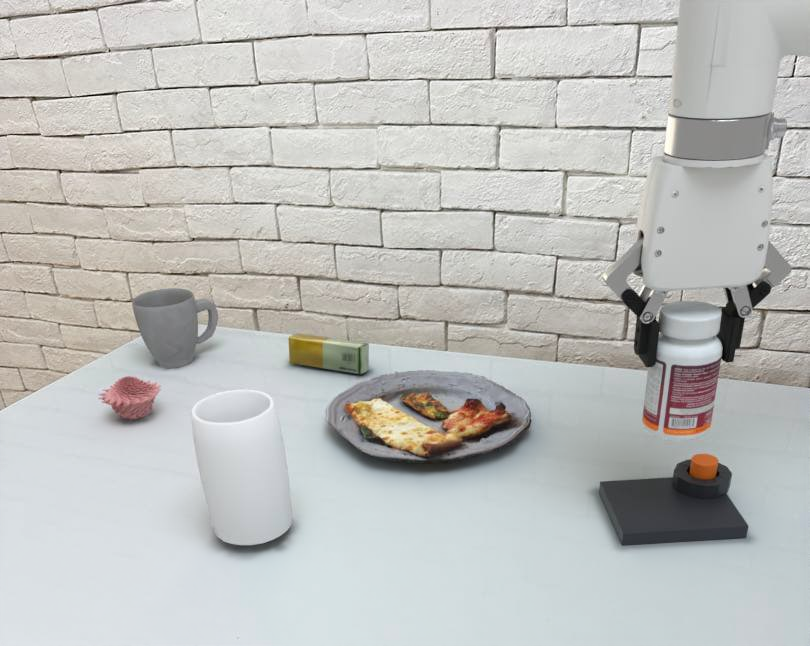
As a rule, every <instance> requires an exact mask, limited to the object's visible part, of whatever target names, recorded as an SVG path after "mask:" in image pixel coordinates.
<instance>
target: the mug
mask: <svg viewBox="0 0 810 646" xmlns="http://www.w3.org/2000/svg"><path fill="white" fill-rule="evenodd" d="M131 305H132V311H133V314H134V318H135V322H136V325H137V328H138V331H139V334H140V337H141V339H142V340H143V342H144V344H145V346H146V348H147V349H148V351H149V352H150V354H151V355H152V357H153V358H154V359H155V361H156V363H157V365H158V366H159V367H161V368H164V369H165V368H166V369H177V368H181V367H185V366H187V365H190V364H192V362H194V360H195V352H196V349H197V345H199V344H202V343H204V342H206V341H208V340H209V339H210V338H212V337H213V336H214V334H215V332H216V329H217V325H218V322H219V314H218V313H219V312H218V309H217V306H216V305H215V304H214V302H213V301H212V300H210V299H208V298H201V299H197V300H196V298H195V294H194V293H193V292H192V291H190V290H189V289H185V288H173V287H172V288H159V289H154V290H150V291H147V292H144V293H141V294H139V295H137V296H135V297H134V298H133V299H132V301H131ZM206 310H207V314H208V320H207V326H206V328H205V330H204V332H203V333H202V334H201V335H199V320H198V319H199V318H198V313H201V312H204V311H206Z"/></svg>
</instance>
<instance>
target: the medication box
mask: <svg viewBox="0 0 810 646" xmlns="http://www.w3.org/2000/svg"><path fill="white" fill-rule="evenodd" d="M287 340H288V354H289V358H288V359H289V363H290V364H293V365H300V366H304V367H305V366H307V367H313V368H319V369H324V370H331V371H336V372H337V371H338V372H345V373H350V374H355V375H359V376H362V375H364V374H366V373H368V372H369V371H370V344H369V342H363V341H356V340H350V339H349V340H348V339H341V338H334V337H328V336H327V337H326V336H320V335H312V334H305V333H299V332H298V333H295V334H293V335H290V336H288V338H287Z"/></svg>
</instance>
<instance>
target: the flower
mask: <svg viewBox="0 0 810 646" xmlns="http://www.w3.org/2000/svg"><path fill="white" fill-rule="evenodd" d="M157 384H158V382H157V381H156V382H152V383H151V379H148V380H147V381H144V379H140V378H138V377H137V376H130V375H127V376H123V377H121V378H118V380H117V381H115V382H114V383H113V385H110V386H109V387H110V388H107V389H102V391H103V392H102V393H98V396H100V397H98V400H102V401H101V404H106V405H108V406H111V409H112V410H113V411H114V413H115V414H119V417H122V419H129V420H130V421H132V420H141V418H145V416H147V415H149V414H150V412H151V410H153V404H155V399H156V397H157V396H158V395H159V392H161V391H162V389H161V388H162V385H157ZM101 396H102V397H101Z"/></svg>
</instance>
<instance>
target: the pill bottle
mask: <svg viewBox="0 0 810 646" xmlns="http://www.w3.org/2000/svg"><path fill="white" fill-rule="evenodd" d="M721 310H722V308H720V307H719V306H717V305H716V304H712V303H709V302H705V301H701V300H699V301H698V300H677V301H672V302H668V303H665V304H662V305H661V307H660V309H659V314H658V320H657V322H658V323H659V324H660V330H659V338H658V347H657V355H656V363H655V365H653V367H647V373H646V374H647V375H646V383H645V392H644V400H643V410H642V421H641V422H642V426H643V428H644V429H645V431H646V432H647V433H648V434H650V435H652V436H654V437H656V438H659V439H661V440H664V441H670V442H686V441H694V440H697V439H700V438H702V437H704V436H705V435H706V434H707V433H709V431H710V430H711V427H712V422H713V421H712V420H713V414H714V408H715V401H716V394H717V390H718V389H717V387H718V382H719V376H720V368H721V363H722V359H721V358H722V349H723V348H722V343H721V341H720V340H719V338H718V337H717V336H716V335H717V334H718V333H719V330H720V322H721V315H722V312H721Z"/></svg>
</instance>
